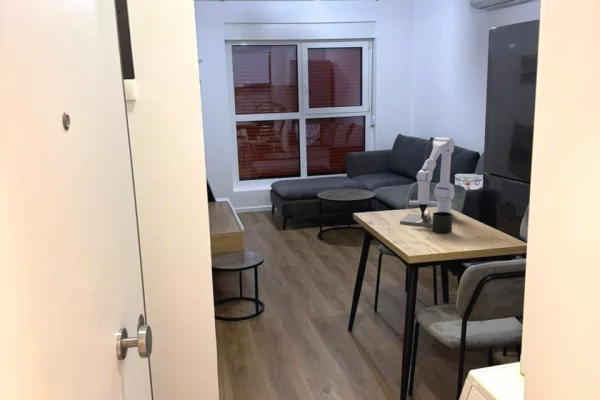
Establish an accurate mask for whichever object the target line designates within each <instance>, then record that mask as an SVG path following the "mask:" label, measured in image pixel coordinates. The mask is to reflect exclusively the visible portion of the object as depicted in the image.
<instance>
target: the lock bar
mask: <svg viewBox="0 0 600 400" xmlns="http://www.w3.org/2000/svg"><path fill="white" fill-rule="evenodd" d="M430 216H431V211H430V210H425V212H424V215H423V222H427V220H428V218H429V217H430Z"/></svg>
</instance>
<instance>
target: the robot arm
mask: <svg viewBox="0 0 600 400" xmlns="http://www.w3.org/2000/svg"><path fill="white" fill-rule="evenodd" d="M454 151H455V141H454V139H453V137H440V136H439V137H438V136H435V137H434V139H433V140H432V150H431V153H430V156H429V158H428V159H426V160H425V161H424V164H423V166H422V167H421V169H420V170H419V171H417V174H416V176H415V177H416V180H417V182H416V183H417V185H418V188H417V190H418V191H417V200H409V201H408V202H409V203H408V205H410V206H418V207H419V210H420V212H421V214H420V215H421V219H423V215H424V213H425V211H427V208H428V206H433V207H434V206H435V207H436V212H448V213H451V214H452V215H453V212H452V200H453V199H454V198H455V186H454V185H453V184H452V183H451V182H450V176H451V165H452V164H451V161H452V153H454ZM440 155H441V159H440V160H441V162H440V175H439V176H440V179H439V183H437V184H436V185H435V188H434V193H433V195H434V197H435V199H436V200H437V201H432V200H430V186H431V185H430V184H431V183H430V182H432V179H433V175H434V170H435V168H436V166H437V162H436V161H437V160H438V159H439V157H440Z"/></svg>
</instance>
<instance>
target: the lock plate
mask: <svg viewBox="0 0 600 400" xmlns="http://www.w3.org/2000/svg"><path fill="white" fill-rule="evenodd" d="M421 215H422V214H416V213H408V214H407V215H406V216H404V217H403V218H402V219H400V221H399V224H400V225H406V226H407V225H409V226H416V227H417V226H418V227H429V228H433V215H430V217H431V219H428V220H427V222H423V219H421Z"/></svg>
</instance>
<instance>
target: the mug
mask: <svg viewBox="0 0 600 400" xmlns="http://www.w3.org/2000/svg"><path fill="white" fill-rule="evenodd" d="M451 213H452V212H451ZM451 213H448V212H437V211H435V212H433V213H432V216H433V227H431V228H432V232H433V233H435V234H442V235H446V234H447V235H448V234H450V233H452V232H453V213H452V214H451Z"/></svg>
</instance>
